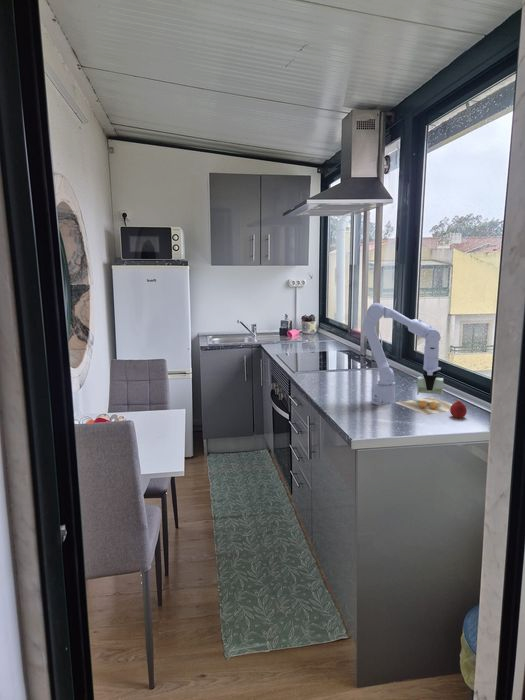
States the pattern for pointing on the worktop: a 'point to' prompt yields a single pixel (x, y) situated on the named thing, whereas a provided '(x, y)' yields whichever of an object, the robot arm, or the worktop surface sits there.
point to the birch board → (427, 410)
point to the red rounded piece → (458, 409)
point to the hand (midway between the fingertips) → (429, 388)
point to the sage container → (436, 388)
